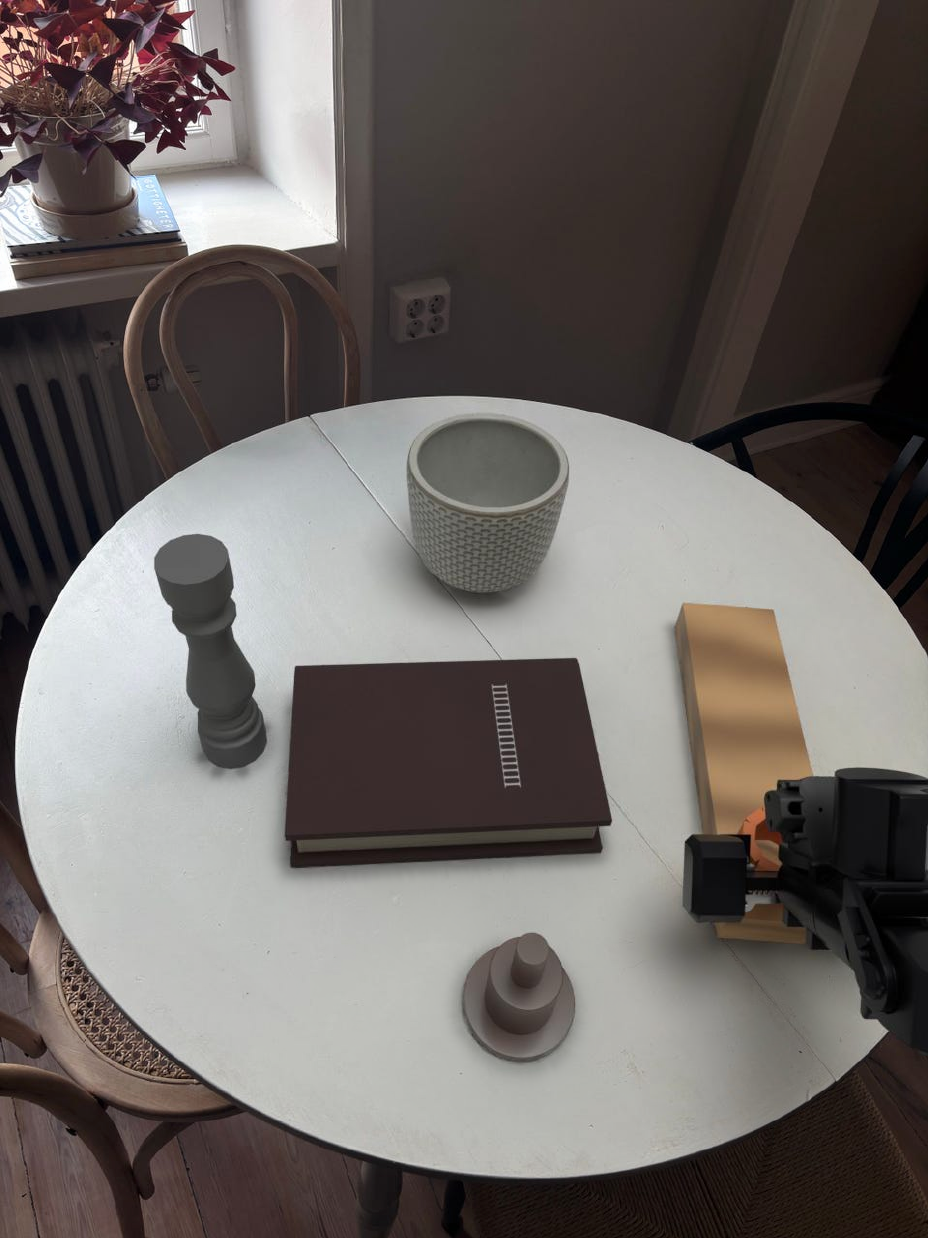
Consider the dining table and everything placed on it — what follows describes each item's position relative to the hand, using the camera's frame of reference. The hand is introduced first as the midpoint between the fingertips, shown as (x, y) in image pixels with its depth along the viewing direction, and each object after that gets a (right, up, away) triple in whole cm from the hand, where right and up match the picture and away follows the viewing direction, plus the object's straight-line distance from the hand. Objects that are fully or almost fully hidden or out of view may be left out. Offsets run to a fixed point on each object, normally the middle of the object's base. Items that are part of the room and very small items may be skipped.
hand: (766, 846), depth 77 cm
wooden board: (+2, +5, +13) cm, 14 cm away
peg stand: (-21, -12, -4) cm, 25 cm away
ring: (0, -1, 0) cm, 1 cm away
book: (-28, +5, +11) cm, 30 cm away
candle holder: (-48, +7, +12) cm, 50 cm away
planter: (-24, +25, +30) cm, 46 cm away
